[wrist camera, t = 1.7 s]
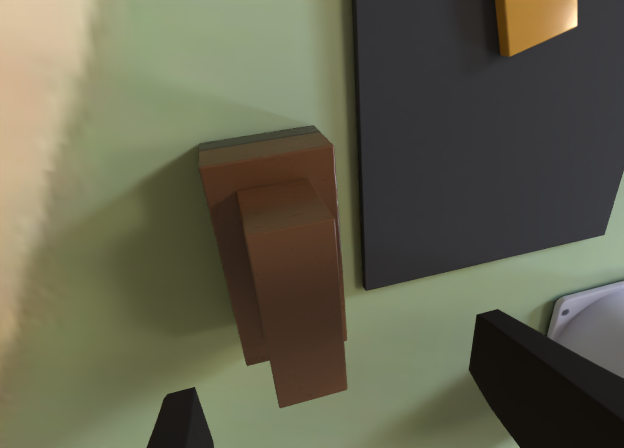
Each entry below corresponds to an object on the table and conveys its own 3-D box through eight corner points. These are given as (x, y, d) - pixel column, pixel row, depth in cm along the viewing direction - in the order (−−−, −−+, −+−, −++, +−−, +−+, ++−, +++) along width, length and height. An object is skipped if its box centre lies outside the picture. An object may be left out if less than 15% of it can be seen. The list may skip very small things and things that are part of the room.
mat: (598, 231, 23) (604, 235, 22) (362, 286, 20) (365, 291, 20) (729, -217, 14) (742, -223, 14) (343, -212, 12) (347, -219, 11)
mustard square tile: (566, 26, 16) (578, 26, 16) (499, 56, 16) (509, 57, 15) (565, -60, 15) (578, -63, 14) (491, -28, 14) (501, -29, 14)
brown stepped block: (330, 302, 20) (374, 401, 15) (241, 323, 19) (255, 435, 14) (314, 124, 16) (369, 178, 11) (198, 143, 15) (197, 209, 10)
